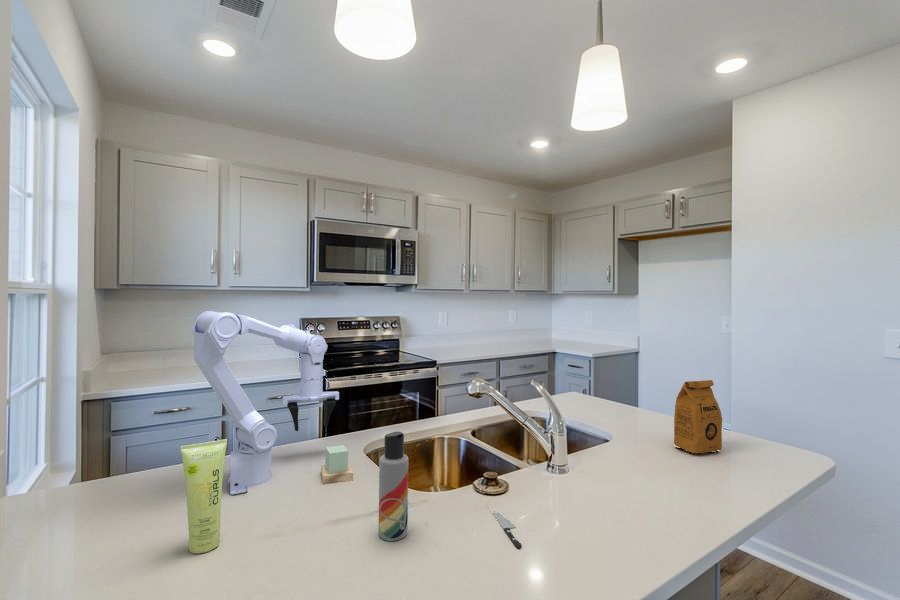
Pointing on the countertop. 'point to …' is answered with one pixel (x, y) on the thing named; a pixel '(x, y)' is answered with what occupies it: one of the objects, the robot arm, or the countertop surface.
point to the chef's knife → (507, 528)
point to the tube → (204, 492)
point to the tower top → (336, 475)
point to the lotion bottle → (393, 489)
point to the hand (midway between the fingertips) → (311, 428)
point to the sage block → (336, 459)
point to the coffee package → (697, 418)
